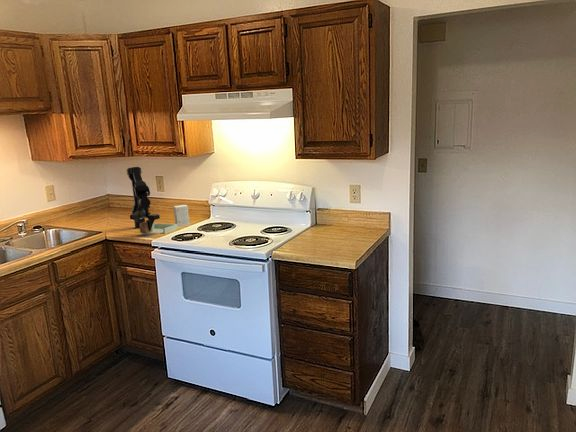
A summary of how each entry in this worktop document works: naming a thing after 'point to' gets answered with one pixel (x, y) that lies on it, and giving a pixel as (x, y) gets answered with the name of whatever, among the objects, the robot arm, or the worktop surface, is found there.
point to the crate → (163, 227)
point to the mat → (147, 234)
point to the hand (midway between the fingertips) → (146, 230)
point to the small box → (181, 215)
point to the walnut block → (144, 228)
